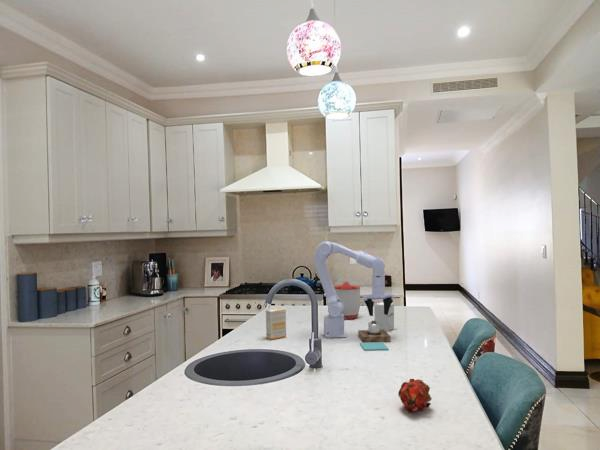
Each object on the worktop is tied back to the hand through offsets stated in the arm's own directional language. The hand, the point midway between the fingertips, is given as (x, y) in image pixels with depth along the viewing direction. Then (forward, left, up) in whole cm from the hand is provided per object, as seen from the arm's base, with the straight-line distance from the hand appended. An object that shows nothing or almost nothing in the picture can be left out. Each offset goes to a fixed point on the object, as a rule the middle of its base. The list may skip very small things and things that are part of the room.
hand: (378, 315), depth 195 cm
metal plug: (-3, -2, -10) cm, 11 cm away
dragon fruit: (-8, -76, -11) cm, 77 cm away
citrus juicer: (-9, +44, -10) cm, 46 cm away
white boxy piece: (+6, +15, -11) cm, 20 cm away
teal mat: (-6, -15, -10) cm, 19 cm away
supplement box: (-47, +4, -10) cm, 48 cm away
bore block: (-3, -2, -10) cm, 11 cm away
